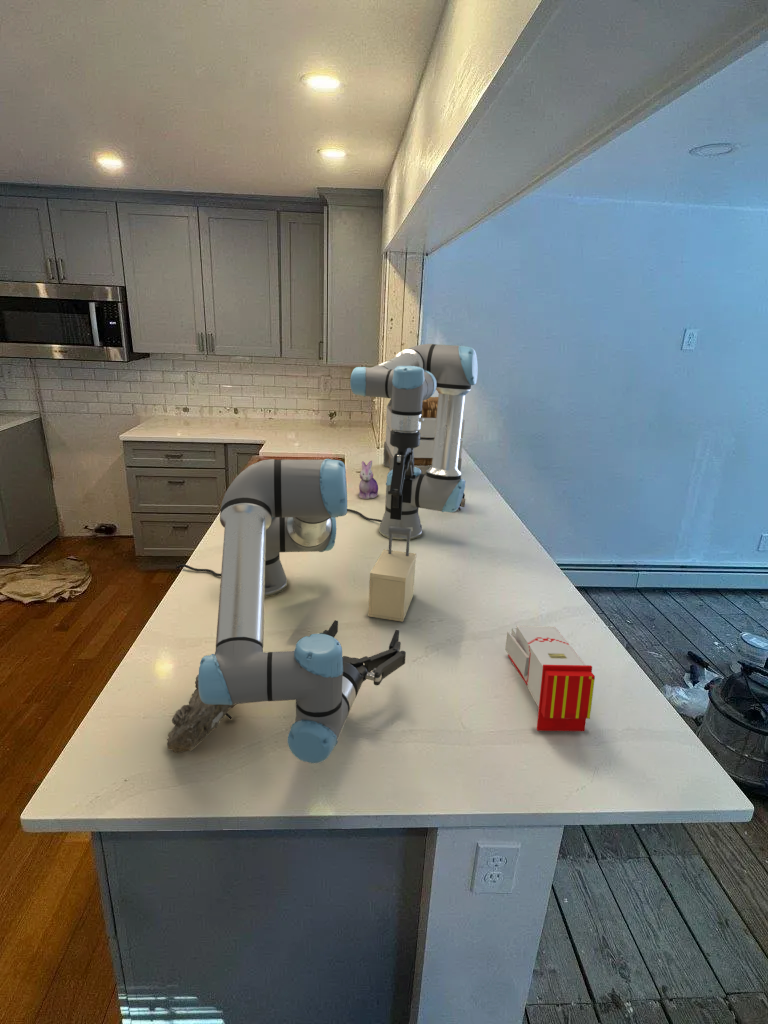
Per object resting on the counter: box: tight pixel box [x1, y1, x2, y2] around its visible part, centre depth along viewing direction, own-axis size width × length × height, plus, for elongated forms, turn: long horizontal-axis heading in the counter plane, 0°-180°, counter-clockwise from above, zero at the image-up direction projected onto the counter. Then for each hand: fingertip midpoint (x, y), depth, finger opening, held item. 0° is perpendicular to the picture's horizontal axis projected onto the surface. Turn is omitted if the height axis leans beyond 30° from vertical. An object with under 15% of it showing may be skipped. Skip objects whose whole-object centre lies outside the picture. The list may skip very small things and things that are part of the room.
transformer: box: [383, 396, 465, 473], centre depth 268 cm, size 34×33×41 cm
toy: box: [504, 625, 596, 732], centre depth 119 cm, size 12×13×30 cm
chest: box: [367, 558, 417, 622], centre depth 150 cm, size 14×9×11 cm, turn 167°
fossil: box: [166, 673, 235, 754], centre depth 106 cm, size 22×10×15 cm
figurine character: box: [457, 493, 466, 511], centre depth 229 cm, size 7×8×15 cm
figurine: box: [358, 460, 379, 500], centre depth 236 cm, size 9×10×15 cm
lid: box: [369, 526, 417, 582], centre depth 147 cm, size 16×9×9 cm, turn 167°
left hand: (366, 630), depth 123 cm, fingers open, 13 cm apart
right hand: (401, 510), depth 148 cm, fingers open, 13 cm apart
